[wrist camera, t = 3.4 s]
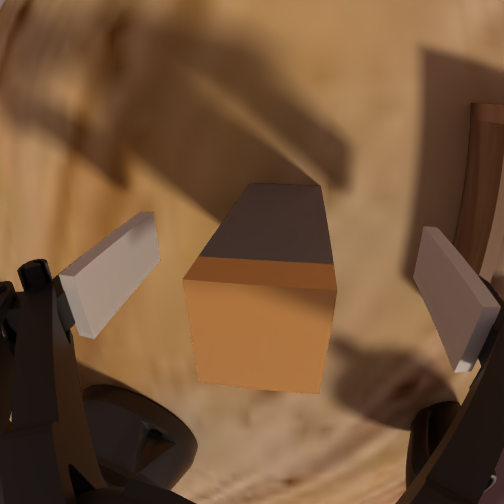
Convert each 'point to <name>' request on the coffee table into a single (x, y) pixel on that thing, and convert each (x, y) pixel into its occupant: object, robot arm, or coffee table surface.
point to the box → (484, 197)
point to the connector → (265, 292)
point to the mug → (430, 437)
